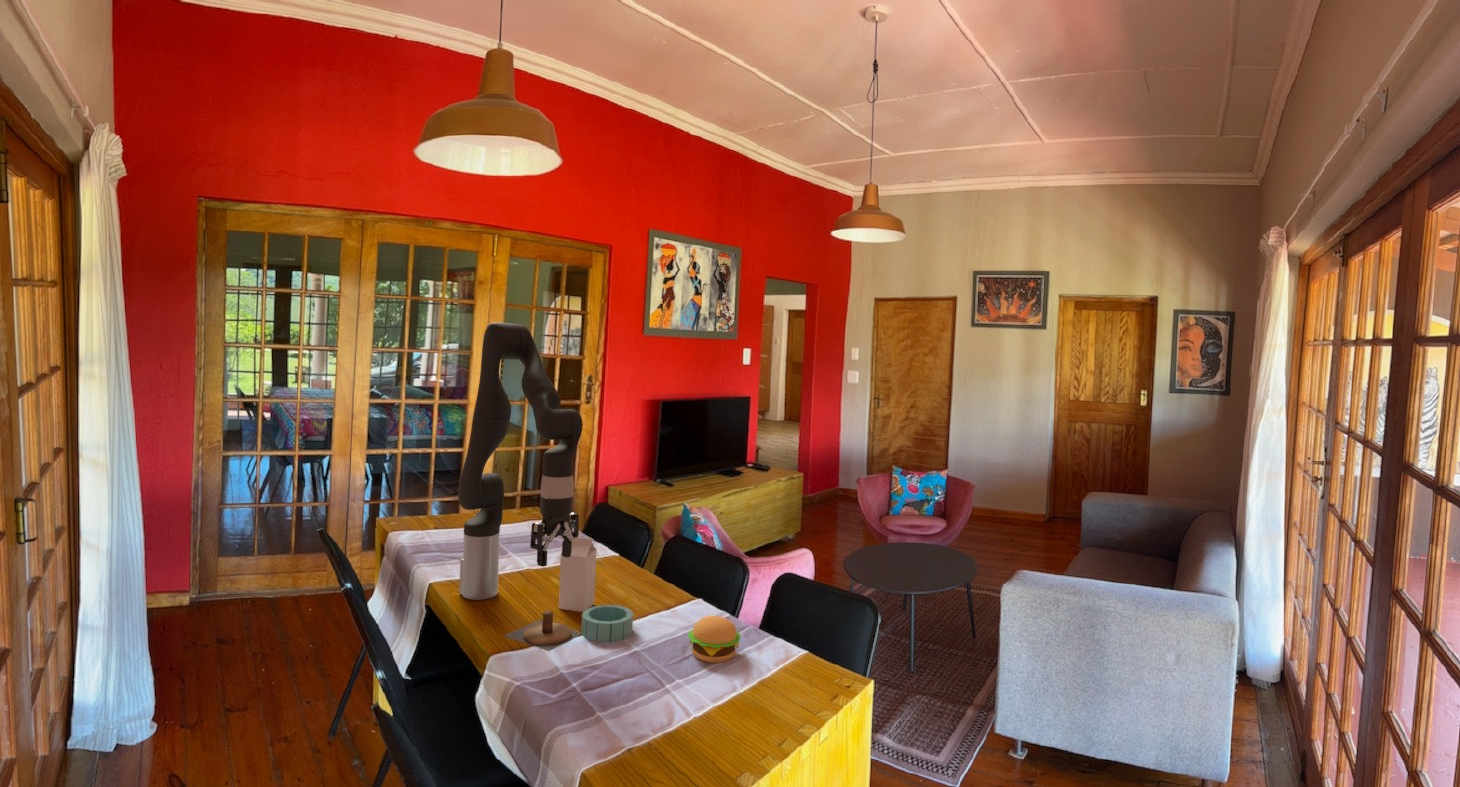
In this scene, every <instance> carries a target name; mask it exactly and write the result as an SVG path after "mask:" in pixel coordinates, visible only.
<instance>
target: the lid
mask: <svg viewBox="0 0 1460 787" xmlns="http://www.w3.org/2000/svg"><path fill="white" fill-rule="evenodd" d="M570 636H571V627H570V626H568V625H567V624H564V623H560V622H554V612H553V611H551V610H547V611H543V612H542V623H539V624H534V625H531V626H529V627H527V628H526V629H525V630H524V632H523V639H524V640H525V641H526V642H528V643H531V644H535V645H554V644H558V643H562V642H564V641H566V640H568V639H569V638H570Z"/></svg>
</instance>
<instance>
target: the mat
mask: <svg viewBox="0 0 1460 787" xmlns="http://www.w3.org/2000/svg"><path fill="white" fill-rule="evenodd" d="M542 621H543V619H542V620H541V619H538V620H536V621H534V622H532V623H529V624H527V625H525V626H523V627H520V628H518V629H515V630H514V631H511V632H509V633H507V634H504V635H503V637H505V638H507V639H511V640H514V641H517V642H520V643H523V644H527V645H530V646H533V647H535V648H537V649H542V650H545V651H548V652H551V650H554V649H556V648H557V647H559V646H561V645H563V644H566V643H568V642H569V641H571V640H573V639H575V638H577V637H579V636H582V634H581V631H578V630H575V629H571V628H570V629H571V636H570V638H569V639H568V640H566V641H564V642H562V643H558V644H554V645H535V644H531V643H528V642H526V641H525V640H524V639H523V632H524V630H525V629H526V628H527V627H529V626H531V625H534V624H539V623H542Z"/></svg>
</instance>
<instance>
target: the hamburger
mask: <svg viewBox="0 0 1460 787" xmlns="http://www.w3.org/2000/svg"><path fill="white" fill-rule="evenodd" d="M688 638H689V639H690V641H688V642H689V643H688V644H689V645H692V646H691V652H692V655H693V656H694V657H695V658H696V659H698V660H700V661H702V662H705V663H706V662H707V663H712V664H713V663H714V664H715V663H717V664H718V663H719V664H720V663H725V662H727V661H728V662H729V661H730V660H732V659H733V657H734V656H735V654H736V651H737V650H736V648H737V649H739V646H740V640H741V635H740V632H739V631H738V630H737V628H736V626H735V624H734V623H733V622H732V621H731V620H729V619H728V618H726V617H723V616H719V615H710V616H709V615H708V616H705V617H702V618H701V619H699V620H698V621H696V623H695V624H694V626H693V627H692V630H690V631H689V632H688Z"/></svg>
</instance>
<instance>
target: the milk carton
mask: <svg viewBox="0 0 1460 787" xmlns="http://www.w3.org/2000/svg"><path fill="white" fill-rule="evenodd" d="M559 564H560V565H559V591H558V592H559V593H558V609H560V610H567V611H574V612H582V613H583V612H584V610H586V609H588V608H590V607H593V605H594V606H595V597H596V596H595V595H596V593H595V592H596V574H597V573H596V569H597V548H596V547H595V545H594V543H593V538H590V537H589V538H588V537H583V536H582V537H581V536H578V537H577V538H576V537H575V538H574V540H573V541H572V552H571V556H570V557H563V556H562V551H561V552H560V562H559Z"/></svg>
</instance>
